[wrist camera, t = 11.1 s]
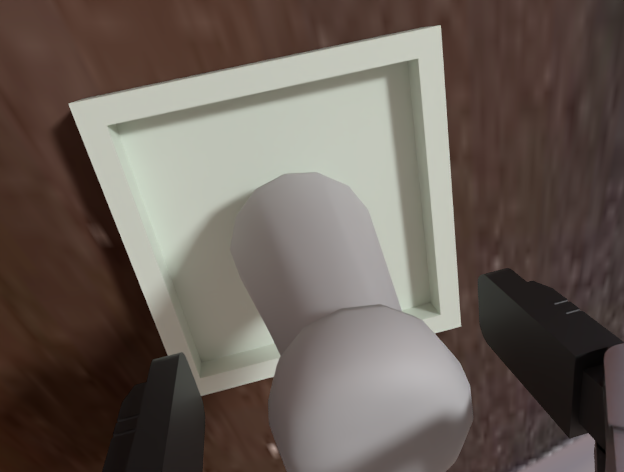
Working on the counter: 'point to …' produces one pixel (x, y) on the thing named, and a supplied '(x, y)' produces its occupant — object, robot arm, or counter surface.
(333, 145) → the tray
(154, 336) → the counter surface
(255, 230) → the salt shaker
